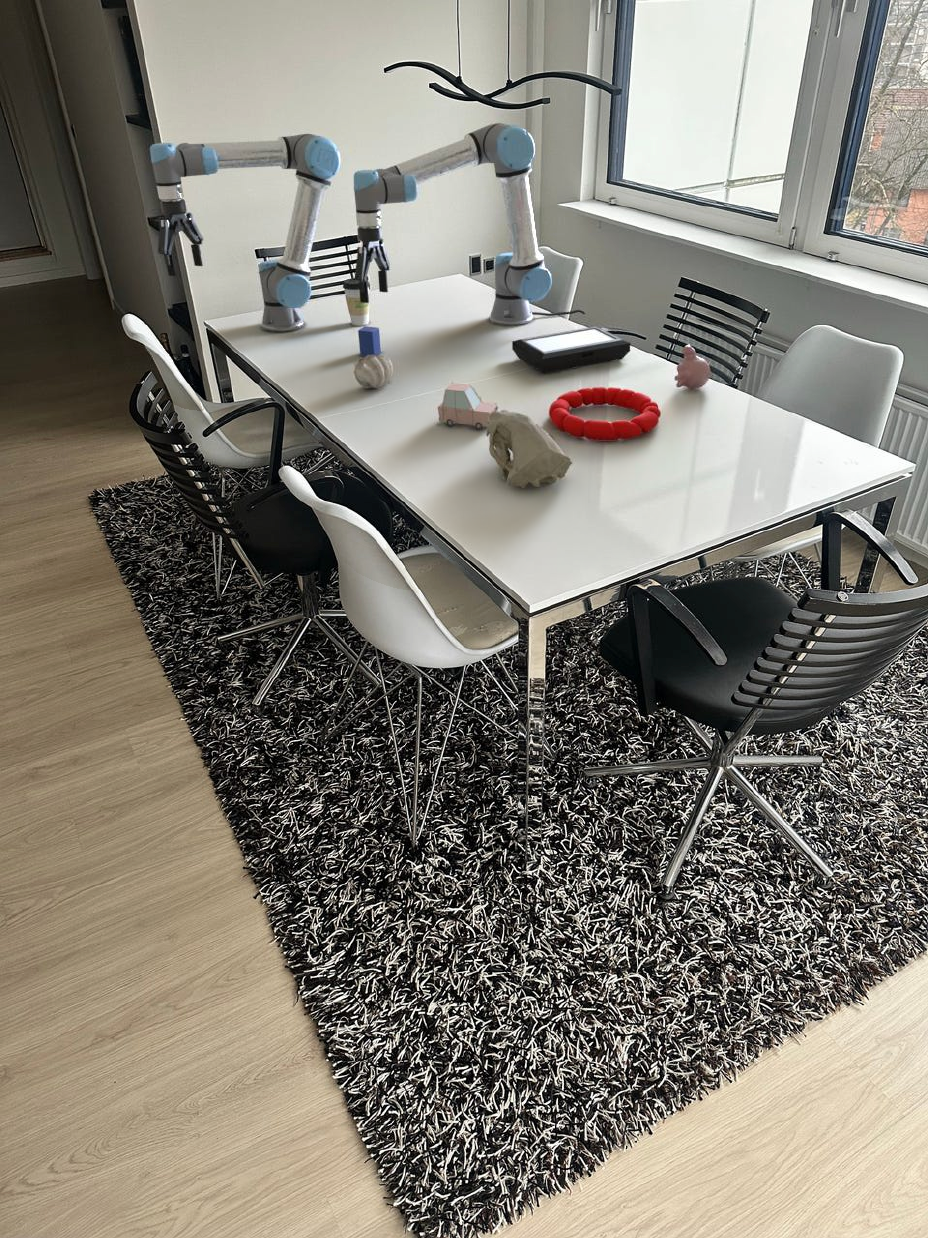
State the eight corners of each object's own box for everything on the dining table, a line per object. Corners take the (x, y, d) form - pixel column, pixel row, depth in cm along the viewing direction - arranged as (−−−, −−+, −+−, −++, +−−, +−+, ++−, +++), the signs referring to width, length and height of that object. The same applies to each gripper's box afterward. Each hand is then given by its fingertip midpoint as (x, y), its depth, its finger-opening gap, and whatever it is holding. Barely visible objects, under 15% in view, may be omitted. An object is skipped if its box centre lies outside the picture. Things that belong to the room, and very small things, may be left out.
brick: (374, 357, 295) (372, 331, 290) (360, 355, 297) (357, 330, 292) (381, 352, 299) (378, 327, 294) (366, 351, 300) (364, 326, 296)
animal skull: (496, 517, 219) (521, 479, 201) (463, 429, 225) (484, 384, 207) (557, 503, 225) (586, 465, 206) (523, 417, 231) (549, 373, 212)
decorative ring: (589, 435, 224) (684, 402, 234) (527, 398, 247) (617, 369, 256) (589, 461, 229) (683, 427, 238) (529, 422, 251) (617, 393, 260)
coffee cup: (372, 326, 323) (368, 283, 314) (345, 327, 323) (340, 284, 315) (374, 318, 331) (371, 276, 322) (348, 319, 331) (344, 277, 323)
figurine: (665, 387, 264) (669, 347, 257) (693, 380, 268) (698, 340, 261) (686, 396, 257) (690, 355, 250) (714, 388, 262) (720, 348, 255)
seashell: (346, 386, 272) (343, 354, 266) (390, 377, 278) (388, 345, 272) (359, 397, 264) (356, 364, 259) (405, 387, 270) (402, 354, 264)
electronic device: (541, 356, 271) (512, 338, 286) (541, 376, 275) (512, 357, 290) (630, 340, 281) (597, 324, 296) (629, 359, 285) (596, 342, 300)
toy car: (488, 432, 240) (488, 396, 234) (436, 426, 244) (434, 390, 239) (499, 419, 247) (499, 384, 241) (448, 413, 252) (447, 379, 246)
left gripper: (156, 207, 267) (171, 280, 279) (206, 192, 286) (218, 262, 298) (136, 206, 269) (152, 279, 281) (186, 192, 288) (199, 260, 300)
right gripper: (361, 234, 264) (367, 307, 276) (397, 219, 283) (401, 288, 295) (339, 233, 267) (345, 305, 279) (376, 218, 286) (381, 286, 298)
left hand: (186, 270), depth 289 cm, fingers open, 13 cm apart
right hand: (374, 297), depth 287 cm, fingers open, 13 cm apart
